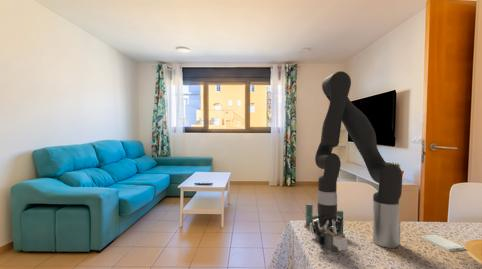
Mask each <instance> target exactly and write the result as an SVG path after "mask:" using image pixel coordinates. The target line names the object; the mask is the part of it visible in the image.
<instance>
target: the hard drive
mask: <svg viewBox="0 0 482 269" xmlns="http://www.w3.org/2000/svg"><path fill="white" fill-rule="evenodd" d="M420 239H421V240H424V241H425V242H428V243H430V244H432V245H433V246H436V247H439V248H440V249H443V250H445V251H447V252H455V251H465V250H464V247H465V246H463V245H460V244H458V243H457V242H454V241H452V240H449V239H447V238H445V237H442V236H440V235H438V234H428V235H427V234H426V235H420Z"/></svg>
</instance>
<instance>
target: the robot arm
mask: <svg viewBox="0 0 482 269" xmlns="http://www.w3.org/2000/svg"><path fill="white" fill-rule="evenodd" d="M351 86H352V79H351V77H350V75H349V74H348V73H346V72H345V71H343V70H342V71H336V72H334V73H332V74H329V76H327V77H325V78H324V79H323V81H322V83H321V89H322V92H323V94H324V96H325V97H326V98H327V100H328V101H329V105H328V109H327V112H326V115H325V116H324V117H325V118H324V120H323V123H322V127H321V136H320V141H319V142H320V143H319V144H318V147H317V150H316V153H315V158H314V161H315V162H314V163H315V165H316V166H317V167H318V168H319V169H322V170H324V172H323V175H320V176H318V181H317V182H318V185H317V187H318V190H317V191H318V192H317V215H318V218H317V219H315V220H313V219H312V220H311V222H312V227H313V232H314V233H313V234H316V235H318V244H319V245H320V246H321V247H324V246H323V245H324V232H325V231H326V229H327V228H328V227H329V228H330V231H331V232H333V233H335V234H337V232H340V230H341V225H342V220H343V221H344V217H343V218H341V217H339V216H336V215H337V211H338V195H337V194H338V192H337V191H338V190H337V189H338V188H337V184H338V183H337V182H338V178H339V174H340V171H341V164H342V163H341V159H340V156H339V155H337V154H336V153H334V152H333V150H334V148H336V147H338V146H339V143H340V139H341V138H340V137H341V128H342V123H343V126H344V127H345V130H346V131H347V133H348V135H349V137H350V139H351V141H352V142H353V143H354V145H355V148H356V149H357V151H358V153H359V154H360V155H361V157H362V159H363V162H364V164H365V166H366V169H367V172H368V173H369V176H370V178H371V179H372V181H374V182H376V183H377V184H378V190H377V192H376V191H375V193H373V196H372V202H373V203H372V204H373V205H372V208H373V209H372V213H373V214H372V215H373V216H372V242H373V243H374V244H376V245H377V246H379V247H384V248H389V249H396V248H398V247H399V246H400V245H401V221H400V199H401V197H402V192H403V191H402V190H403V189H402V188H403V173H402V169H401V168H400V167H399V165H397V164H394V163H389V162H386V160H385V159H384V157H382V154H381V153H380V151H379V149H378V145H377V143H378V142H377V136H376V132H375V129H374V128H373V125H372V123H371V122H370V120H369V119H368V117H367V116H366V115H365V114H364V113H363V112H362V110H361V109H359V108H357V107H356V106H355V105H354V104H353V103H352V101H351V100H350V98H349V94H350V90H351ZM318 222H319V224H318ZM318 225H319V226H318ZM322 227H323V228H322ZM337 227H338V228H337ZM321 230H322V231H321Z"/></svg>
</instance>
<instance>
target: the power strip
mask: <svg viewBox="0 0 482 269" xmlns="http://www.w3.org/2000/svg"><path fill="white" fill-rule="evenodd" d="M318 226H319V225H318ZM322 228H323V227H322ZM321 231H322V230H321ZM309 233H310V234H312V233H313V234H315V233H314V232H313V227H312V223H310V230H309ZM314 238H315V240H314V241H315V242H316V243H318V235H316V234H315V235H314ZM318 244H319V243H318ZM322 247H324V248H325V249H327V250H328V251H330V252H332V253H333V252H336V251H339V252H341V251H346V250H348V238H347V237H340V236H339V235H337V234H335V233H333V232H331V231H330V230H328V229H326V231H325V232H324V245H323V246H322Z"/></svg>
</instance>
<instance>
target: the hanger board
mask: <svg viewBox="0 0 482 269" xmlns="http://www.w3.org/2000/svg"><path fill="white" fill-rule="evenodd" d="M313 208H314V205H313V204H312V203H308V204H305V224H304V228H306V229H308V230H309V231H310V223H312V222H311V220H312V219H313V220H315V219H317V218H318V214H316V215H314V214H313V213H314V212H313ZM336 216H339V217H341V218H343V220H342V225H341V230H340V232H337V235H339V236H340V237H341V238H346V237H345V236H346V234H345V233H344V210H341V209H340V210H337V215H336ZM318 224H319V222H318ZM337 228H338V227H337ZM327 229H328V230H330V228H329V227H328V228H327Z"/></svg>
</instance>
